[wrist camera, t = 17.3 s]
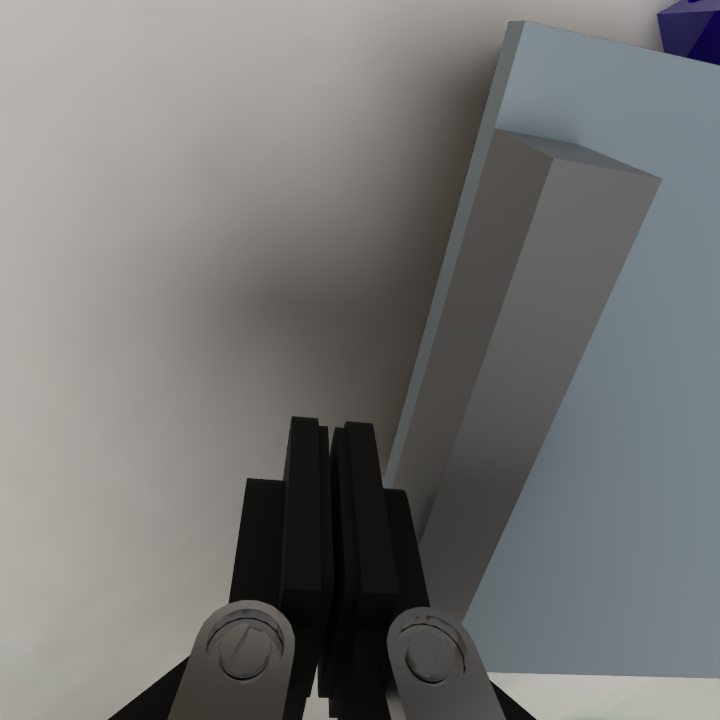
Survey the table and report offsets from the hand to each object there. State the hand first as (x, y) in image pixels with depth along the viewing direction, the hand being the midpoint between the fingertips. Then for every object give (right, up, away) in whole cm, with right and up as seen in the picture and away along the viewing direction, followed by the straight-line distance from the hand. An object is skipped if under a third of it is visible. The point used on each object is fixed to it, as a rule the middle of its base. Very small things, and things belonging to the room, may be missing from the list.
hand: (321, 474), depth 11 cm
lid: (+9, 0, +3) cm, 9 cm away
